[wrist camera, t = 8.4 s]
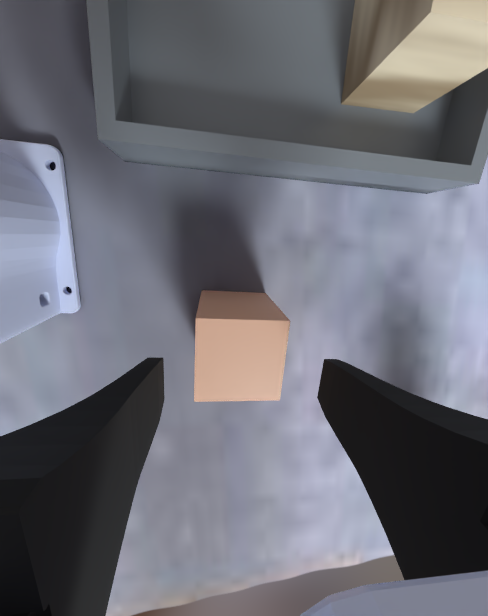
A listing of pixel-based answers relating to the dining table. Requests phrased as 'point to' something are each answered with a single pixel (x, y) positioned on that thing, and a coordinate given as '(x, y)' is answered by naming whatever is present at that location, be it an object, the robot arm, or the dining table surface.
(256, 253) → the dining table surface
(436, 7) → the beech block
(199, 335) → the terracotta block
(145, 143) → the slate tray
